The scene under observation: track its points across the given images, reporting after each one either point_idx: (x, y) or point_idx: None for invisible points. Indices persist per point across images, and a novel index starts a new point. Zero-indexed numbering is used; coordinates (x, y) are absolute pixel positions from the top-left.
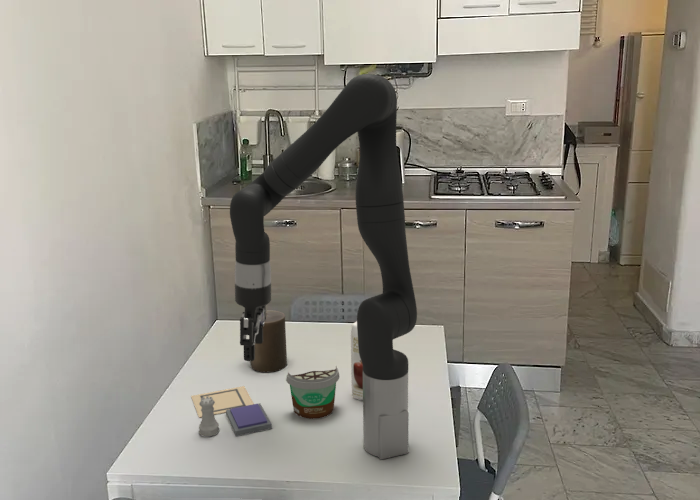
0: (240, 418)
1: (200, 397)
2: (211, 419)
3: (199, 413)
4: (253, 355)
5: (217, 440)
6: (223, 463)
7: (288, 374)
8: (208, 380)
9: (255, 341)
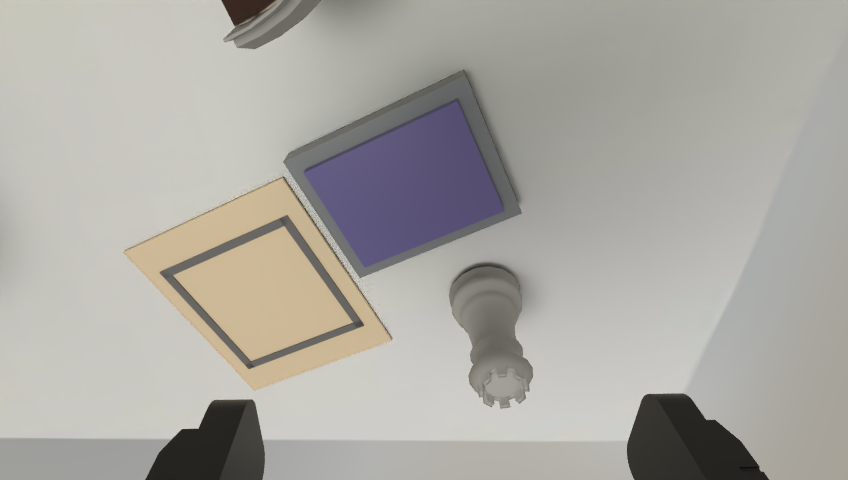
0: (438, 216)
1: (258, 365)
2: (509, 316)
3: (367, 344)
4: (716, 442)
5: (540, 256)
6: (695, 206)
7: (242, 34)
8: (123, 369)
9: (256, 462)
